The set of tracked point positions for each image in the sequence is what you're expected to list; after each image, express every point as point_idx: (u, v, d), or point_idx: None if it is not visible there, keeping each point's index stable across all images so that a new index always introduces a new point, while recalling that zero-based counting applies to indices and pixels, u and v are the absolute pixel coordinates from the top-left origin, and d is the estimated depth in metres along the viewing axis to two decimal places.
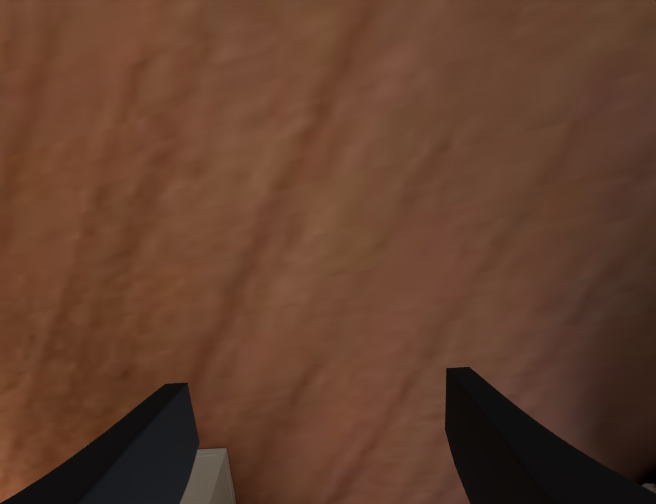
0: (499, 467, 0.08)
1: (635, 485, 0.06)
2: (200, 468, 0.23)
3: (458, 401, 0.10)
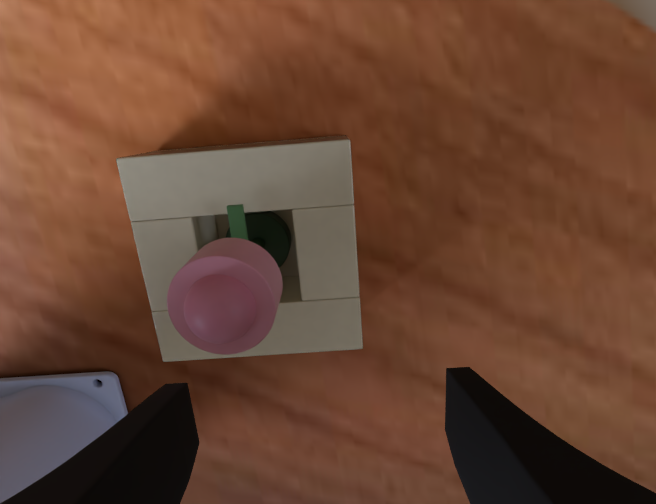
0: (499, 467, 0.08)
1: (635, 485, 0.06)
2: None
3: (458, 401, 0.10)
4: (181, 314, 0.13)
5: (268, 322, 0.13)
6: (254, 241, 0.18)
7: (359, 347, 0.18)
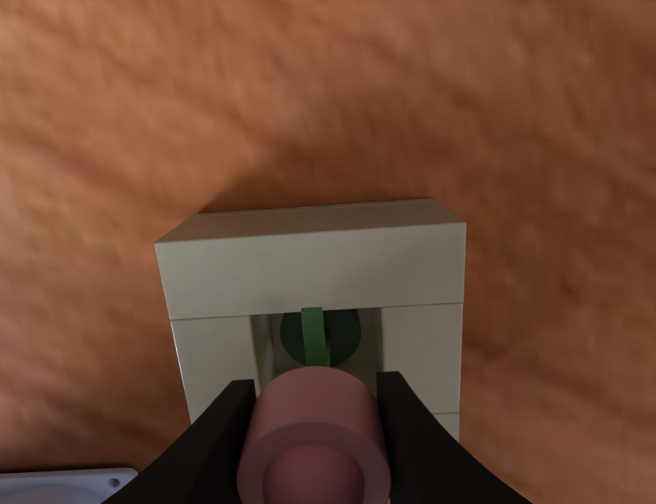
0: (402, 472, 0.08)
1: (510, 491, 0.06)
2: None
3: (381, 405, 0.10)
4: (256, 492, 0.09)
5: None
6: None
7: None
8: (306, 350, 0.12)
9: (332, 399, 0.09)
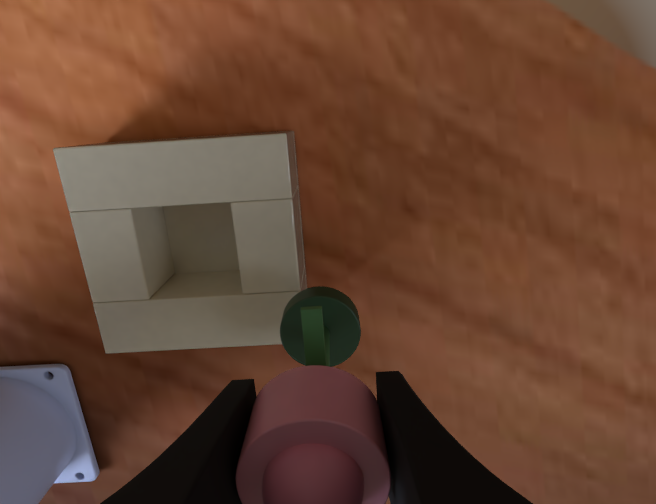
0: (402, 472, 0.08)
1: (510, 491, 0.06)
2: None
3: (381, 405, 0.10)
4: (255, 491, 0.09)
5: (379, 503, 0.09)
6: None
7: None
8: (306, 349, 0.12)
9: (331, 398, 0.09)
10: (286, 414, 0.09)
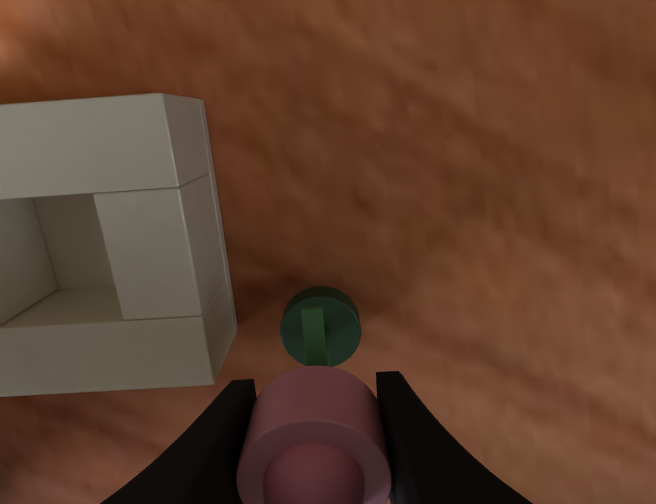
0: (402, 472, 0.08)
1: (510, 491, 0.06)
2: (226, 321, 0.15)
3: (381, 405, 0.10)
4: (256, 491, 0.09)
5: None
6: None
7: (209, 383, 0.14)
8: (306, 349, 0.12)
9: (332, 398, 0.09)
10: (287, 414, 0.09)
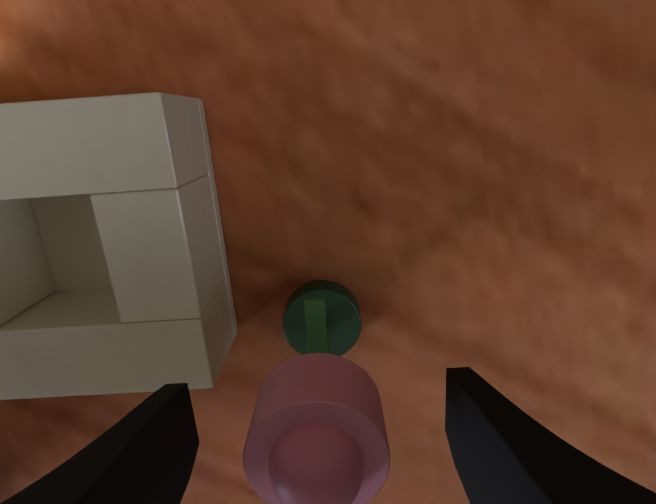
0: (499, 467, 0.08)
1: (635, 485, 0.06)
2: (225, 324, 0.15)
3: (458, 401, 0.10)
4: (261, 470, 0.10)
5: (379, 482, 0.10)
6: None
7: (208, 386, 0.13)
8: (308, 339, 0.12)
9: (334, 383, 0.10)
10: (291, 397, 0.09)
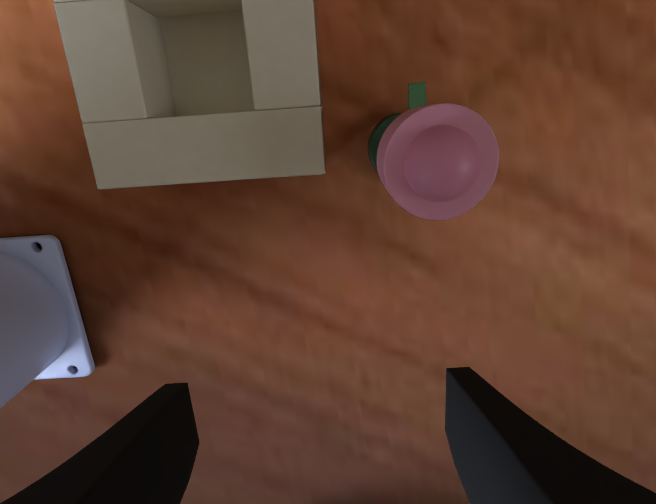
0: (499, 467, 0.08)
1: (635, 485, 0.06)
2: None
3: (458, 401, 0.10)
4: (397, 172, 0.12)
5: (489, 182, 0.12)
6: None
7: (321, 171, 0.16)
8: None
9: None
10: (424, 107, 0.12)
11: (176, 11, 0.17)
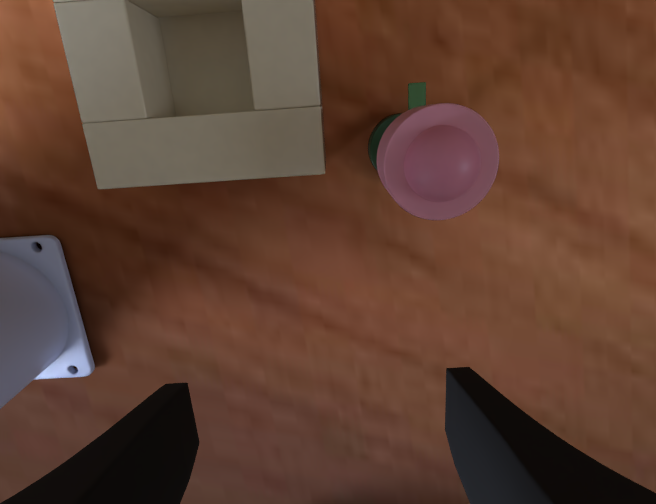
0: (499, 467, 0.08)
1: (635, 485, 0.06)
2: None
3: (458, 401, 0.10)
4: (397, 172, 0.12)
5: (489, 182, 0.12)
6: None
7: (321, 171, 0.16)
8: None
9: None
10: (424, 107, 0.12)
11: (176, 11, 0.17)
